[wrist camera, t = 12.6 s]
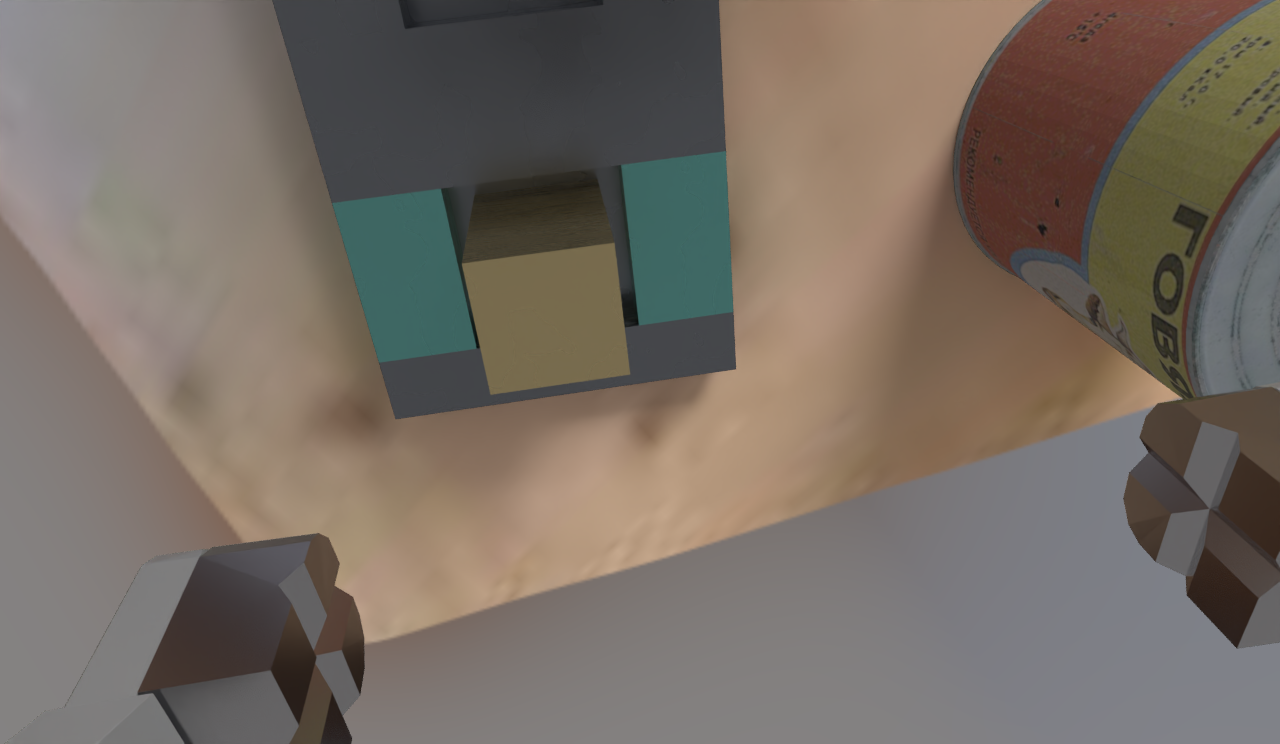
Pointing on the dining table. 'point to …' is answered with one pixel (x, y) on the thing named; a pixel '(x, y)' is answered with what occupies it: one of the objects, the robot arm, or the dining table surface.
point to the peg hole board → (519, 167)
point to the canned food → (1138, 178)
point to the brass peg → (545, 287)
